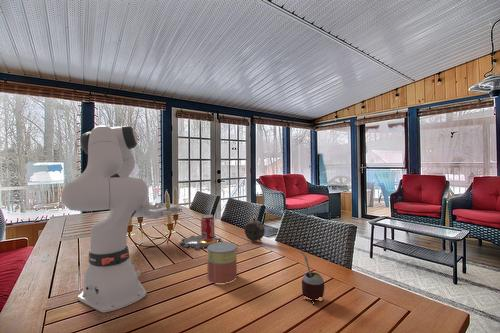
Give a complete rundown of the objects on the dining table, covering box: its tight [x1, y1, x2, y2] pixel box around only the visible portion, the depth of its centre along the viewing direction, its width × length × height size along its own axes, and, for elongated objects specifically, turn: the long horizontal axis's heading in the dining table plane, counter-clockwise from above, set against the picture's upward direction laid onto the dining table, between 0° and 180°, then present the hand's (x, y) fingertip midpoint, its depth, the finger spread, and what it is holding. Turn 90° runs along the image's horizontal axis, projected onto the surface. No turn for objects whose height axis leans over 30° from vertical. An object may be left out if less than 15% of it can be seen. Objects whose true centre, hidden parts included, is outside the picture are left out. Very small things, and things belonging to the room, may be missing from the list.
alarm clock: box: [244, 212, 265, 242], centre depth 139 cm, size 11×5×16 cm, turn 58°
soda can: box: [200, 213, 215, 241], centre depth 139 cm, size 7×7×13 cm
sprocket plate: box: [179, 235, 222, 250], centre depth 138 cm, size 22×22×2 cm
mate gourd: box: [299, 248, 325, 302], centre depth 82 cm, size 8×8×15 cm
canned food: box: [206, 241, 238, 283], centre depth 97 cm, size 11×11×12 cm
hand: (176, 211), depth 135 cm, fingers open, 8 cm apart
